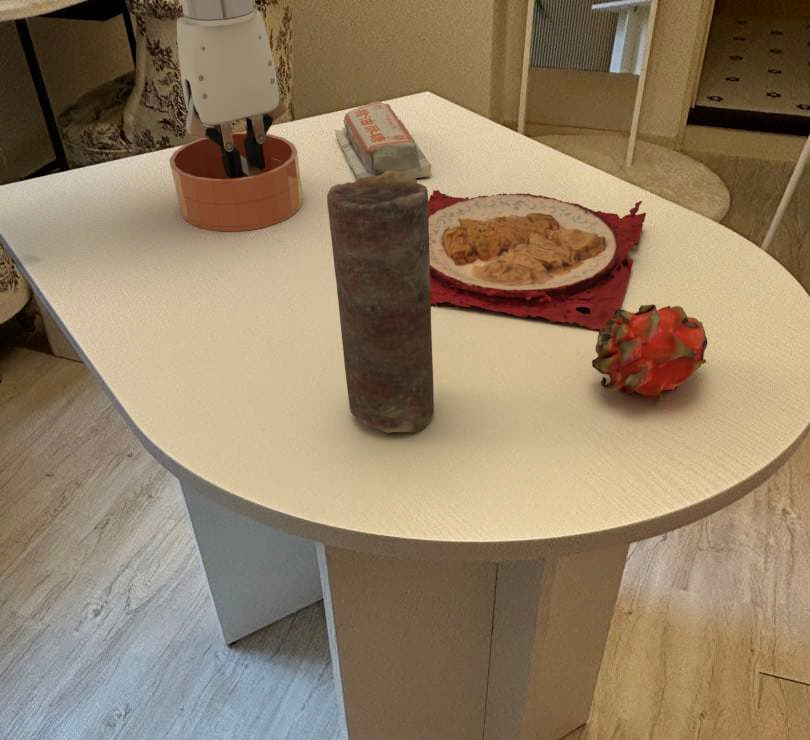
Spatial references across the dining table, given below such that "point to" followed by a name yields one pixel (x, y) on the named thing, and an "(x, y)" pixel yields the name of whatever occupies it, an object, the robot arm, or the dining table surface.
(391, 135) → the packaged product
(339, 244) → the candle
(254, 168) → the brown wooden bar
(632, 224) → the plate with food
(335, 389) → the dining table surface
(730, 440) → the dining table surface
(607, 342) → the dragon fruit
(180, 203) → the bowl
